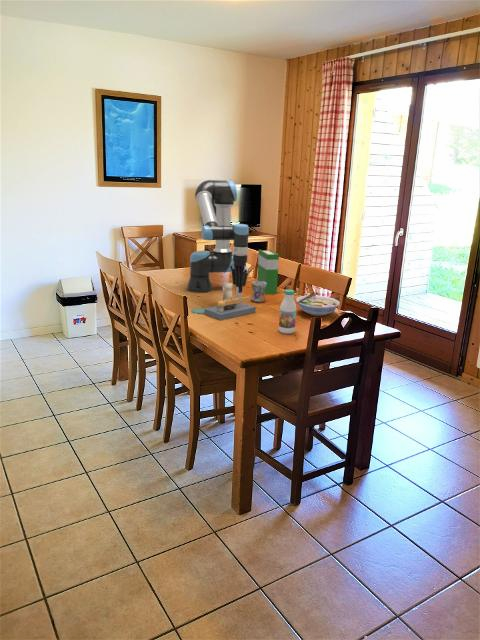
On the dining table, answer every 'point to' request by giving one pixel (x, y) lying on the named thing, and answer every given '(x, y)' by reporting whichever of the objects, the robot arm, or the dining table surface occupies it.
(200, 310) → the pad
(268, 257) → the green cereal box
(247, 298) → the clip
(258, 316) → the dining table surface
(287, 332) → the milk bottle
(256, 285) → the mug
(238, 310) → the socket board
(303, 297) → the ramen bowl
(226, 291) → the plug
